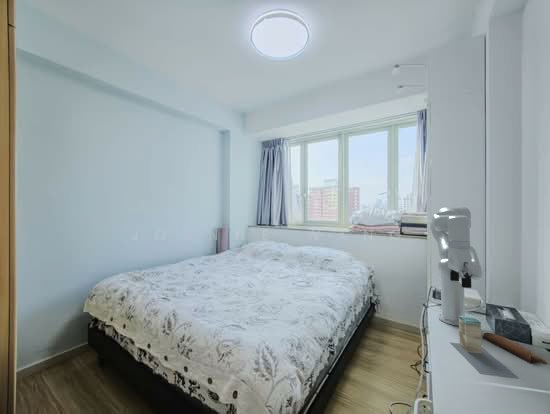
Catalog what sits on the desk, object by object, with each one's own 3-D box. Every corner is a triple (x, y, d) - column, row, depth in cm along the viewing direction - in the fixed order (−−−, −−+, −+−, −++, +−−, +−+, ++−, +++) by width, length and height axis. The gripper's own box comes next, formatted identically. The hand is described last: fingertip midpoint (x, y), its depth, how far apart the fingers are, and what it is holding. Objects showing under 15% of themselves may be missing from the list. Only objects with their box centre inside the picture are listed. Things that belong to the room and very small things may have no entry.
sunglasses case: (552, 363, 83) (543, 348, 83) (538, 375, 82) (528, 359, 82) (499, 338, 101) (491, 325, 101) (487, 347, 100) (479, 334, 100)
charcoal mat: (449, 343, 97) (449, 342, 97) (480, 347, 94) (480, 345, 94) (480, 375, 77) (480, 373, 77) (520, 380, 75) (519, 378, 75)
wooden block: (459, 345, 94) (458, 315, 95) (474, 346, 93) (472, 316, 94) (466, 352, 90) (465, 320, 90) (482, 353, 88) (480, 322, 89)
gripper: (440, 241, 109) (441, 278, 109) (459, 247, 92) (460, 290, 92) (458, 242, 107) (460, 278, 107) (481, 247, 91) (483, 291, 90)
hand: (460, 284), depth 99 cm, fingers open, 9 cm apart
